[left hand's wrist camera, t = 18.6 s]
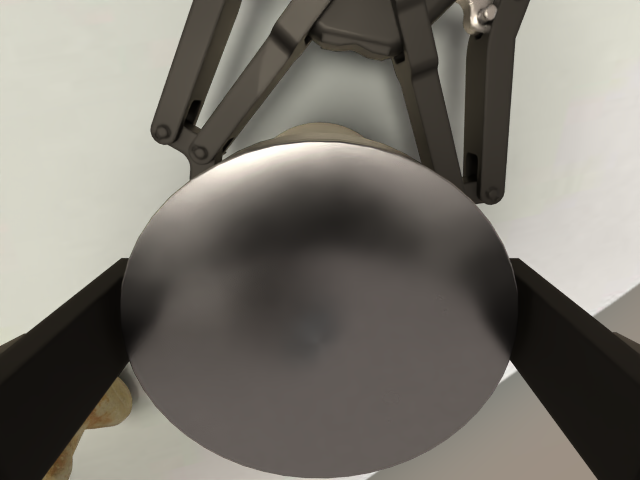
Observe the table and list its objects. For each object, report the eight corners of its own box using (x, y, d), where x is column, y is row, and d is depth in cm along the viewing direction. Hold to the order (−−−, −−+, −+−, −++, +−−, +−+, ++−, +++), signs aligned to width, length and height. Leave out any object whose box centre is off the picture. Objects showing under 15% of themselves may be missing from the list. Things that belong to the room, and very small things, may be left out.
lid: (451, 77, 10) (487, 71, 8) (503, 382, 14) (538, 436, 11) (92, 198, 11) (36, 222, 9) (232, 447, 15) (217, 506, 13)
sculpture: (86, 410, 33) (-90, 643, 19) (54, 346, 30) (-178, 559, 16) (148, 403, 32) (16, 635, 18) (121, 337, 30) (-56, 548, 16)
